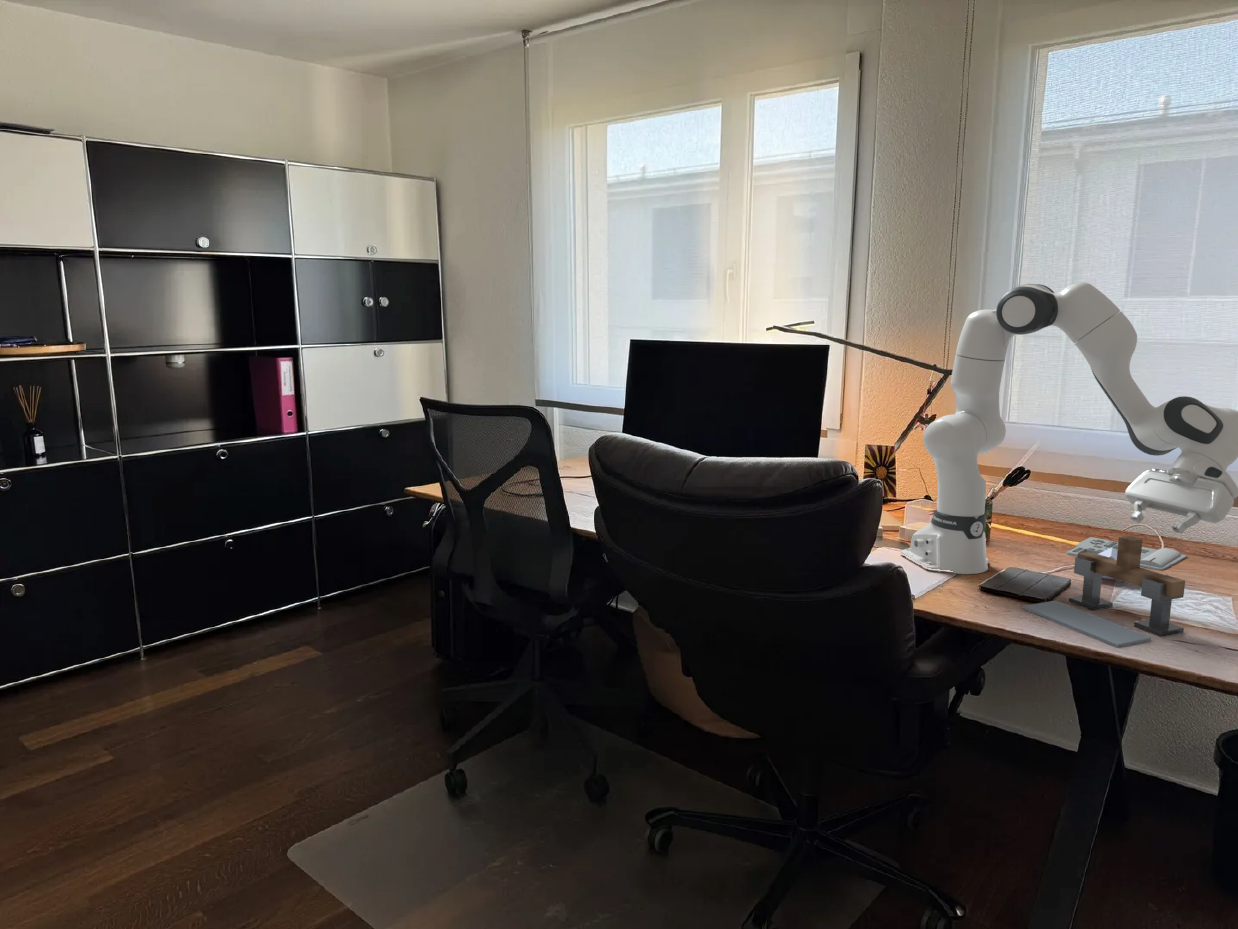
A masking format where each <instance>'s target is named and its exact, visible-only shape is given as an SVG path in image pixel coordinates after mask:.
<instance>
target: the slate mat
mask: <svg viewBox="0 0 1238 929" xmlns="http://www.w3.org/2000/svg"><path fill="white" fill-rule="evenodd" d="M1022 610H1024V611H1028V612H1030V613H1032V614H1034V615H1037V616H1040V617H1042V618H1045V619H1047V620H1049V621H1052V622H1054V623H1057V624H1059V625H1062V626H1064V627H1066V628H1068V629H1071V630H1074V631H1076V632H1078V633H1081V634H1084V635H1086V636H1088V637H1091V638H1093V639H1096V640H1098V641H1100V642H1103V643H1105V644H1108V645H1110V646H1113V647H1115V648H1121V647H1125V646H1130V645H1135V644H1140V643H1144V642H1145V643H1146V642H1151V641H1152V637H1151V636H1148V635H1146V634H1143V633H1140V632H1138V631H1135V630H1133V629H1131V628H1128V627H1125V626H1122V625H1119V624H1117V623H1115V622H1111V621H1110V620H1107V619H1104V618H1101V617H1098V616H1096V615H1093V614H1092V613H1091V614H1090V613H1089V612H1086V611H1083V610H1080V609H1078V608H1076V607H1072V606H1070V605H1067V604H1065V603H1062V602H1060V601H1057V600H1052V601H1044V602H1039V603H1032V604H1026V605H1022Z"/></svg>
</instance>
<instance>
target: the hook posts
mask: <svg viewBox="0 0 1238 929" xmlns="http://www.w3.org/2000/svg"><path fill="white" fill-rule="evenodd" d="M1098 555H1099V554H1098ZM1101 556H1103V555H1101ZM1104 557H1106V556H1104ZM1107 558H1109V557H1107ZM1111 559H1113V558H1111ZM1094 570H1095V562H1094V561H1091V560H1088V559H1085V558H1081V557H1075V556H1074V566H1073V573H1074V574H1076V575H1079V576H1082V577H1083V583H1082V593H1081V595H1076V596H1070V597H1068V603H1071V604H1074V605H1077V606H1078V607H1081V608H1084V609H1087V610H1089V611H1097V610H1103V609H1108V608H1113V606H1114V602H1112V601H1109V600H1107V599H1104V598H1101V591H1102V590H1101V588H1102V576H1105V575H1102V574H1099V573H1096V572H1094ZM1166 575H1167V576H1170V577H1173V578H1176V579H1180V580H1183V581H1184V585H1183V594H1182V595H1181V596H1176V597H1169V596H1166V595H1165V585H1166V584H1164V583H1161V582H1158V581H1155V580H1151V579H1148V578H1144V579H1142V588H1141V592H1140V596H1141V597H1145V598H1147V599H1151V601H1150V602H1151V604H1150V611H1149V612H1150V613H1149V618H1148V619H1143V620H1138V621H1134V624H1133V626H1134V628H1137V629H1140V630H1143V631H1145V632H1148V633H1150V634H1153V635H1156V636H1158V637H1161V638H1165V637H1168V636H1173V635H1179V634H1183V633H1184V630H1185V627H1182V626H1180V625H1178V624H1177V625H1176V624H1174V623H1172V622H1170V619H1171V612H1172V611H1171V610H1172V601H1173V600H1176V599H1181V598H1185V597H1184V596H1185V595H1184V594H1185V587H1186V580H1185V579H1181V578H1178V577H1175V576H1172V575H1168V574H1166Z"/></svg>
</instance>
